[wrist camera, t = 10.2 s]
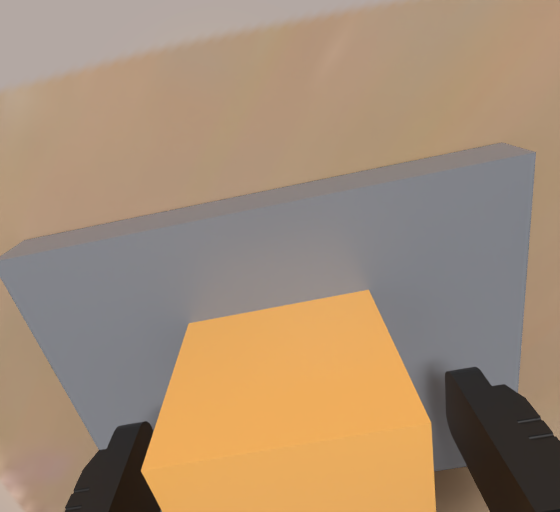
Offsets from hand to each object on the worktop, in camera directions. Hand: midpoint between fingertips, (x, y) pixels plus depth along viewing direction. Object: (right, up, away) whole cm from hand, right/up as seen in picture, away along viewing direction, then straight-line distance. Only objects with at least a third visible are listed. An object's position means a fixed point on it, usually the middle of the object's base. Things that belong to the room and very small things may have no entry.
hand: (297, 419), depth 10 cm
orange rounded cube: (0, +1, +2) cm, 2 cm away
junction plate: (0, +1, +3) cm, 3 cm away
